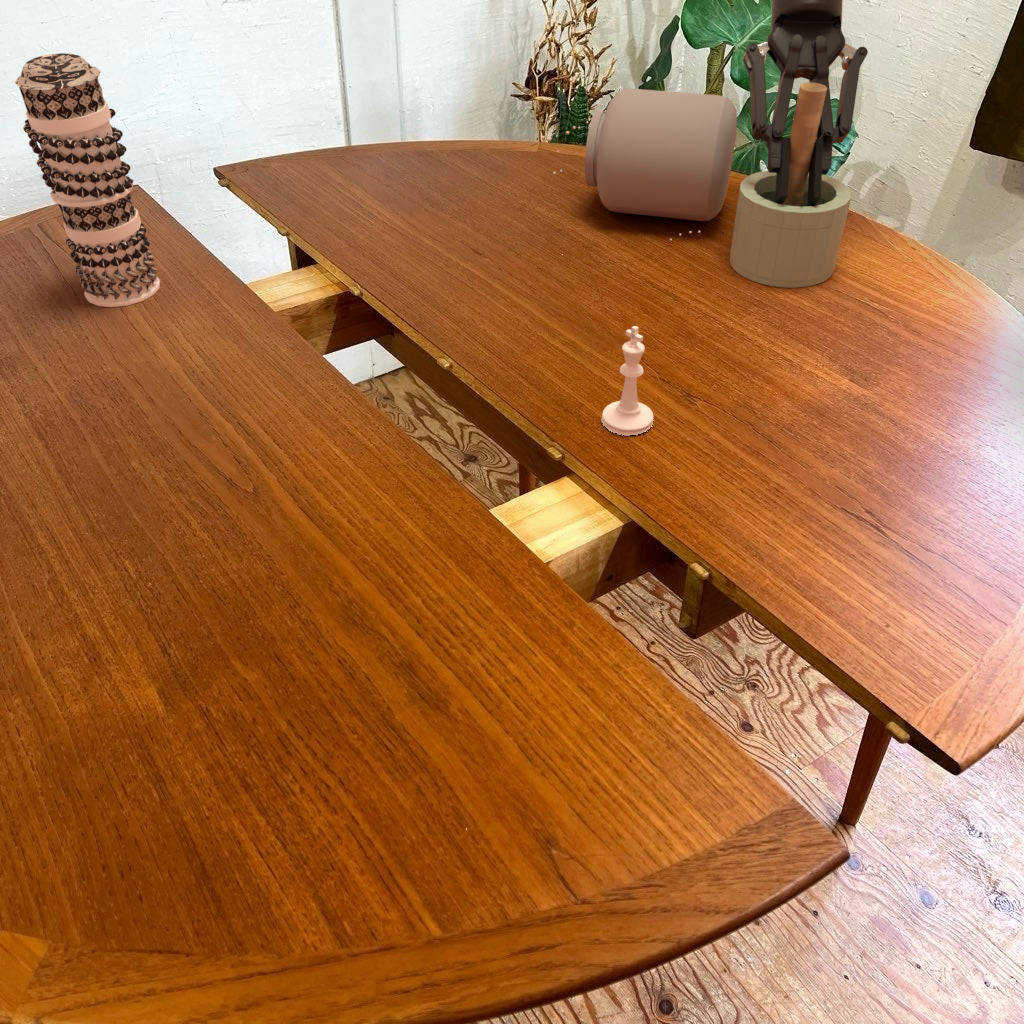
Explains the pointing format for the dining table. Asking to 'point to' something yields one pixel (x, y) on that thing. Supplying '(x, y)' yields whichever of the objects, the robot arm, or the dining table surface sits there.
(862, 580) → the dining table surface
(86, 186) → the decorative candle
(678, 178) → the jar
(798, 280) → the gray beige cylindrical container
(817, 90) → the brush
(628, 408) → the chess piece
